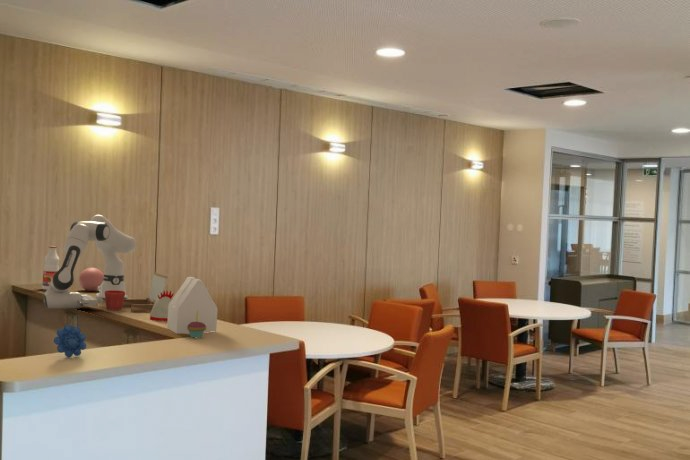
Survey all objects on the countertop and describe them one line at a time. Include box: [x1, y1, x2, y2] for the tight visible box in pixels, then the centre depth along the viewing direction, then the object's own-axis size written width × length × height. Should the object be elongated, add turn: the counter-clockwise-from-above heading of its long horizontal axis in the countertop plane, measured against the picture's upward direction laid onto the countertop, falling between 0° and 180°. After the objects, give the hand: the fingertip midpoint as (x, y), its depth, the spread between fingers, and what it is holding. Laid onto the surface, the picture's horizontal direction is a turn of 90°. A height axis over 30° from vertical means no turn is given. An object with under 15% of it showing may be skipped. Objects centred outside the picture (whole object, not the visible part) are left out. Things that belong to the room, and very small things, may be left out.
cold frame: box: [122, 297, 156, 313], centre depth 382 cm, size 23×16×5 cm
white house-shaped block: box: [166, 276, 219, 335], centre depth 325 cm, size 19×15×25 cm
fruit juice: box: [41, 245, 61, 291], centre depth 440 cm, size 9×9×28 cm
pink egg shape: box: [78, 267, 105, 292], centre depth 447 cm, size 15×20×15 cm
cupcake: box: [187, 312, 206, 338], centre depth 308 cm, size 9×8×12 cm
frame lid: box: [147, 272, 168, 302], centre depth 387 cm, size 21×15×1 cm
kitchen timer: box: [149, 290, 175, 322], centre depth 353 cm, size 14×14×15 cm
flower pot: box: [104, 290, 125, 311], centre depth 375 cm, size 11×11×10 cm
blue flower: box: [53, 324, 87, 358], centre depth 250 cm, size 12×7×12 cm, turn 125°
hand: (102, 300), depth 372 cm, fingers closed
